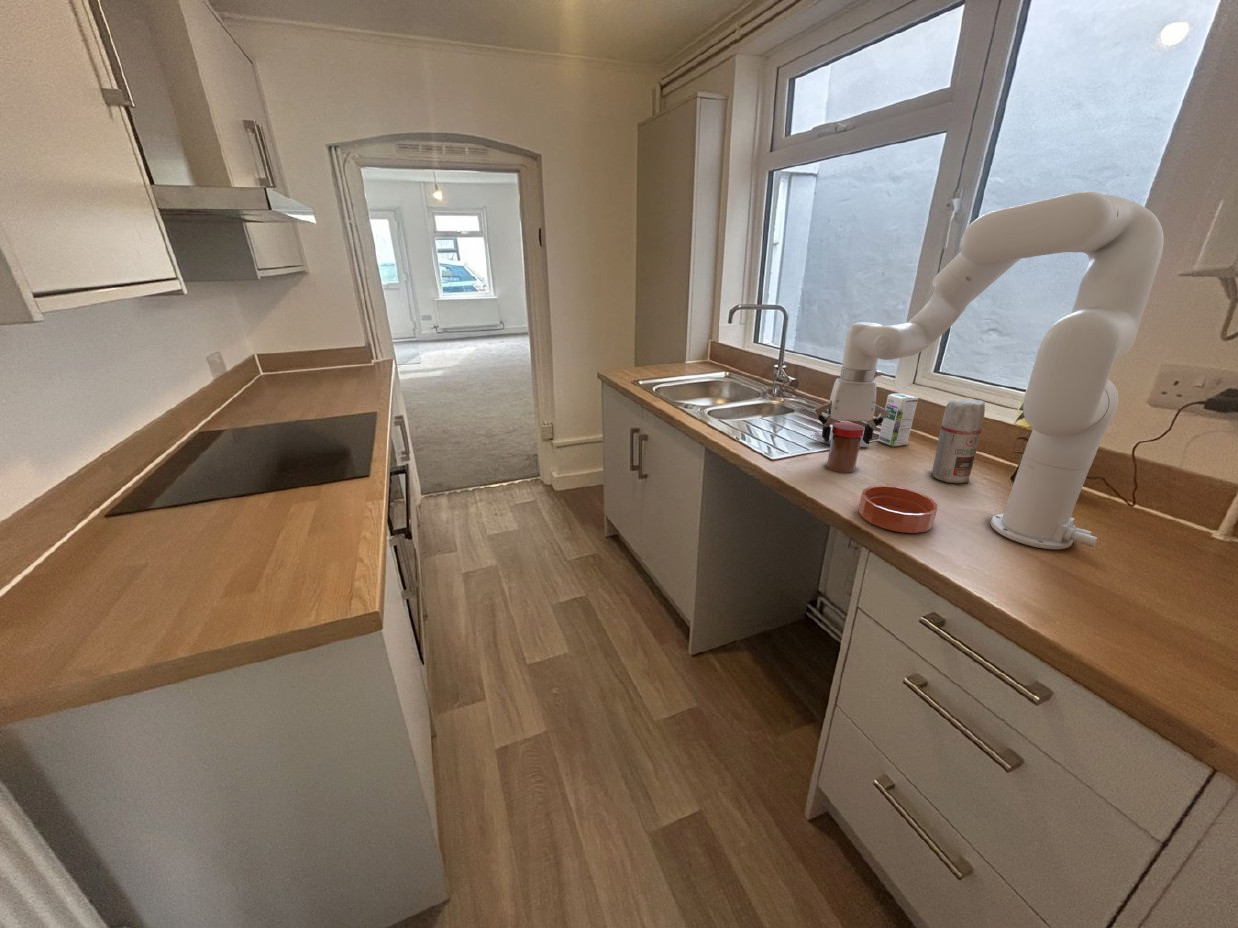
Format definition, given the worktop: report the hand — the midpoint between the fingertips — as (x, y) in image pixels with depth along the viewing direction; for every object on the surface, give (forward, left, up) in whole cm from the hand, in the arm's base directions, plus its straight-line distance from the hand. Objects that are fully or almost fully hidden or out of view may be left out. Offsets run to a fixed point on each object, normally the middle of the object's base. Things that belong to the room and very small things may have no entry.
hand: (845, 441), depth 124 cm
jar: (0, 0, -7) cm, 7 cm away
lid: (0, 0, +4) cm, 4 cm away
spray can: (-20, -15, -8) cm, 26 cm away
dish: (-22, +17, -7) cm, 29 cm away
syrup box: (+1, -30, -8) cm, 31 cm away
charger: (+11, -16, -8) cm, 21 cm away
